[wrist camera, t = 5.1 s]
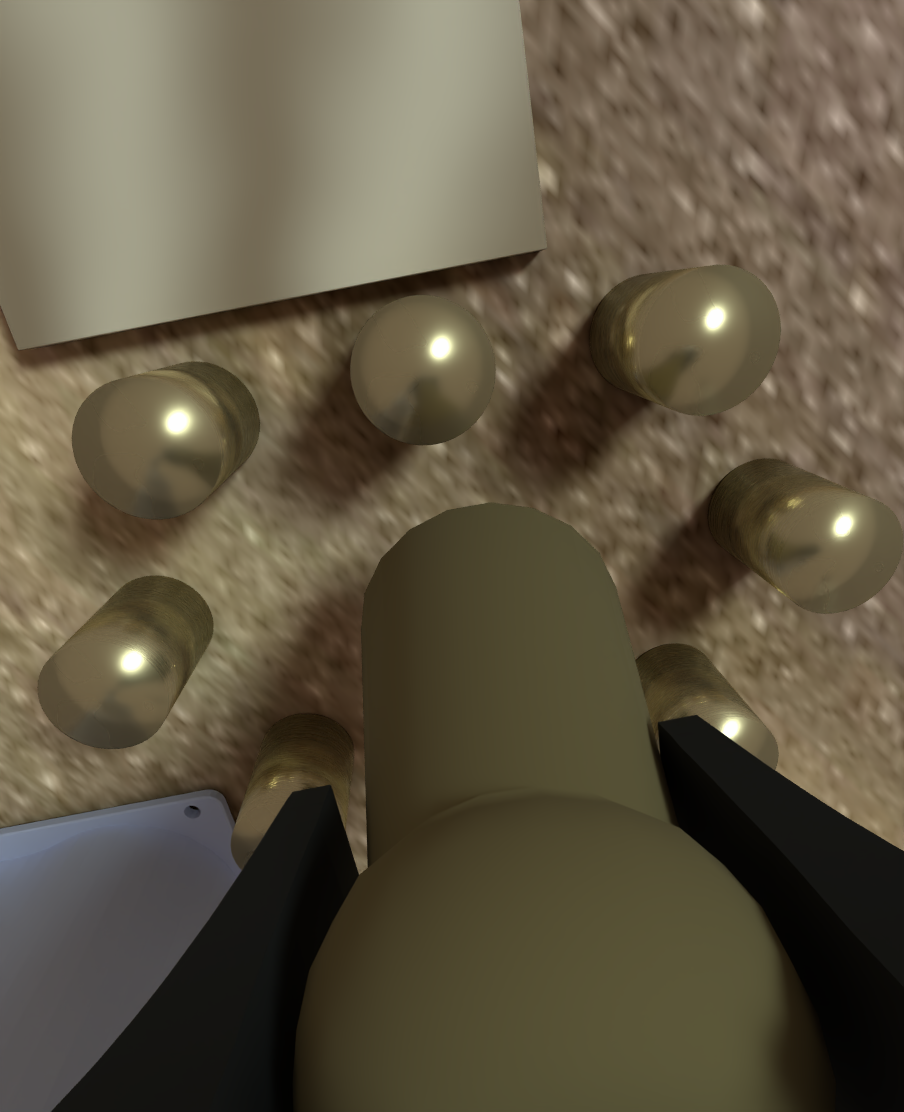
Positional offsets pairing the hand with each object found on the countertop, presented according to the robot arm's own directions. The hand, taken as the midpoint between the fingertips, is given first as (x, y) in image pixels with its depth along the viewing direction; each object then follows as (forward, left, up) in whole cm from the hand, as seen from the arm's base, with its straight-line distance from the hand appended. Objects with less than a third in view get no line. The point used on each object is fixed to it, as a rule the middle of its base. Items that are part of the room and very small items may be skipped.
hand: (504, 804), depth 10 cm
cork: (+1, 0, -6) cm, 6 cm away
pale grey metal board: (-3, +12, -10) cm, 16 cm away
